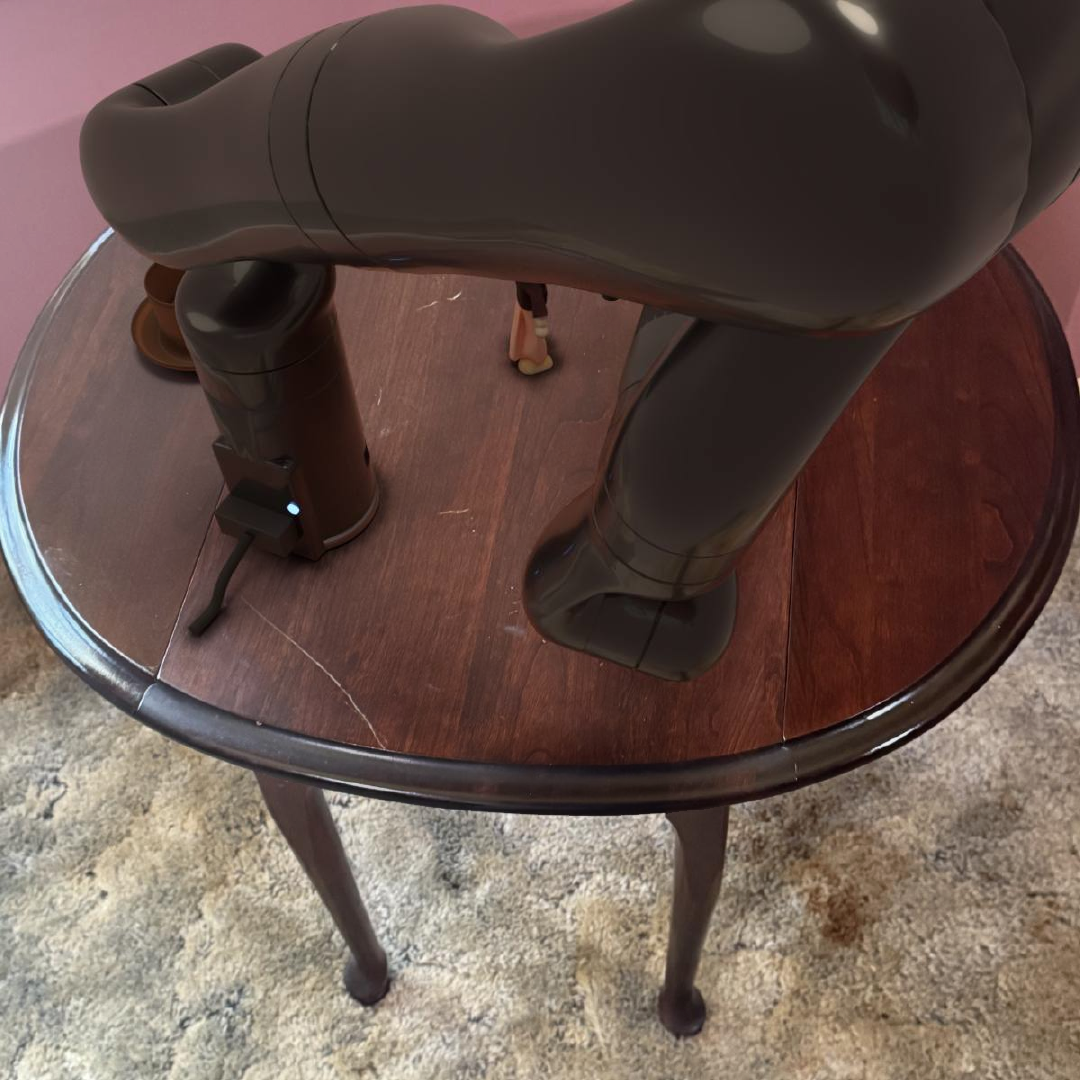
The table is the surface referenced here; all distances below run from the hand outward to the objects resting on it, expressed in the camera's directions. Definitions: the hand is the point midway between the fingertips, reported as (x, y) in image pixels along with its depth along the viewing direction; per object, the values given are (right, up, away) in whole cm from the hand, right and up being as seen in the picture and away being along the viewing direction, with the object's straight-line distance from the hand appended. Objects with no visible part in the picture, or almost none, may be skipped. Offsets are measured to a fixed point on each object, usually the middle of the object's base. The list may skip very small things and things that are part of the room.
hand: (737, 200), depth 73 cm
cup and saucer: (-41, -5, +19) cm, 45 cm away
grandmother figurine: (-14, -8, +16) cm, 23 cm away
